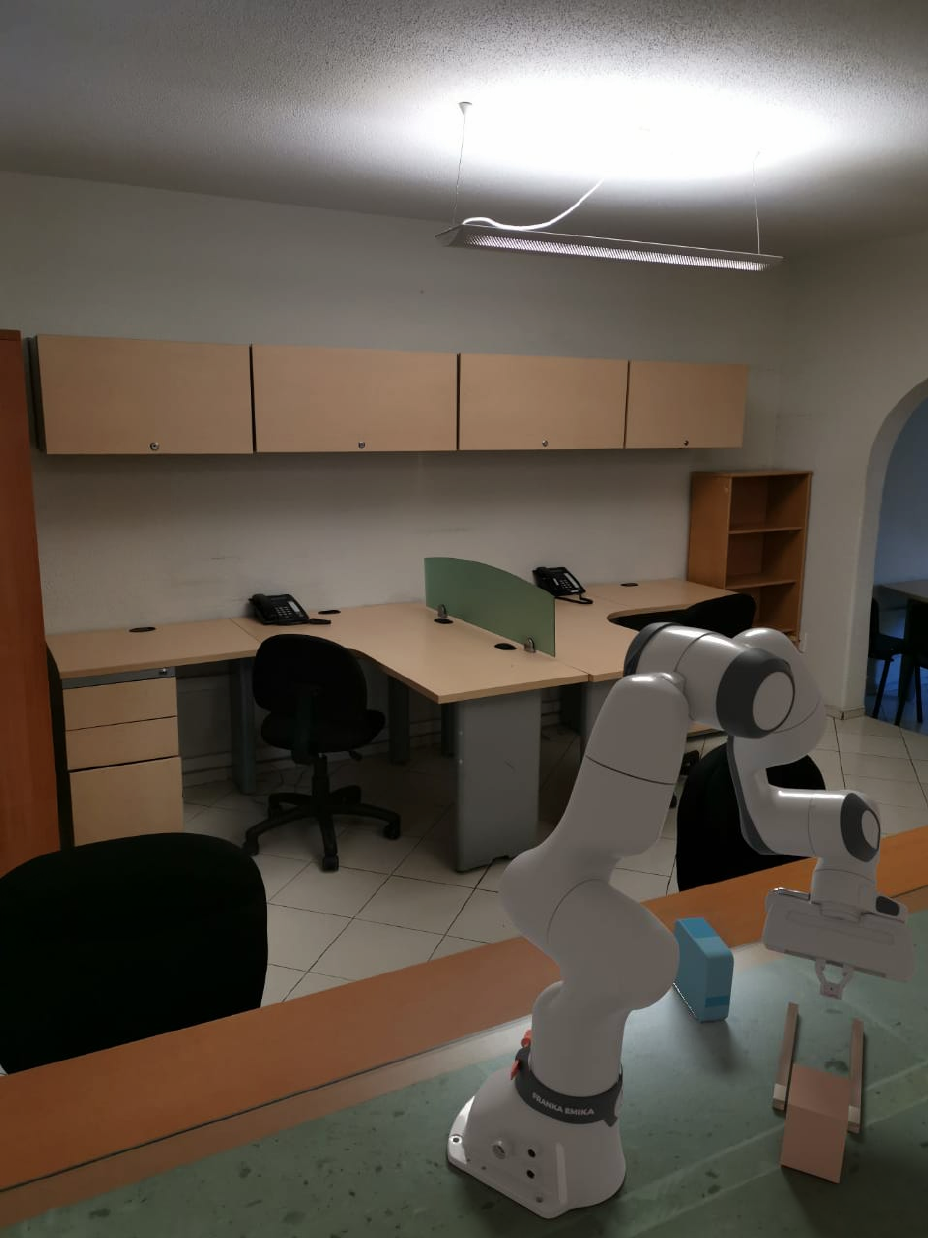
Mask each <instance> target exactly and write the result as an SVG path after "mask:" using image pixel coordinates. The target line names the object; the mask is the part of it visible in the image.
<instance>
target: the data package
mask: <svg viewBox="0 0 928 1238" xmlns="http://www.w3.org/2000/svg"><path fill="white" fill-rule="evenodd" d="M673 928H674V929H673V935H674V936H675V938H676V940H677V942H678V946H679V955H680V960H679V968H678V972H677V976H676V978H675V981H674V983H675V985H676V986H677V988H678V989H679V991H680V993H681V994H682V996H683V997H684V999H685V1001H686V1002H687V1003H688V1005H689V1006H690V1007H691V1009H692V1011H693V1012H694V1014H695V1016H696V1017H697V1019H698V1020H697V1019H696V1020H697V1021H698V1022H699V1023H704V1022H712V1021H721V1020H726V1019H728V1017H729V1014H730V1013H729V1012H730V1004H731V996H732V995H731V992H732V985H733V975H734V965H735V959H734V955H733V952H732V951H731V949H730V948H729V947H728V946H727V944H726V942H724V940H723V939H722V938H721V937H720V936H719V935H718V933H717V932H716V931H715V930H714V929H713V928H712V926H711V925H710V924H709V923H708V922H707V920H706V919H705V918H703V917H701V916H700V917H688V918H679V919H675V922H674V927H673ZM685 1001H684V1002H685ZM692 1011H691V1012H692ZM694 1014H693V1015H694ZM695 1016H694V1017H695ZM696 1017H695V1018H696Z"/></svg>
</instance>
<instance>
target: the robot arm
mask: <svg viewBox="0 0 928 1238" xmlns="http://www.w3.org/2000/svg"><path fill="white" fill-rule="evenodd" d="M622 671H623V672H622V678H621V679H619V680H618V681H616V682H615V683H614V685H613V686H612V687H611V690H610V691H609V693H608V694H607V697H606V698H605V701H604V702H603V705H602V706H601V708H600V711H599V712H598V715H597V718H596V721H595V723H594V725H593V727H592V730H591V733H590V735H589V738H588V741H587V744H586V746H585V750H584V755H583V758H582V761H581V763H580V767H579V770H578V774H577V776H576V779H575V782H574V786H573V789H572V792H571V795H570V798H569V801H568V803H567V806H566V809H565V810H564V811H565V812H564V813H563V815H562V817H561V819H560V821H559V822H558V824H557V825H556V827H555V828H554V830H553V831H552V832H551V834H550V835H549V836H548V837H547V838H546V839H545V840H544V841H543V842H542V843H540V844H539V845H538V846H536V847H534V848H530V849H528V850H526V851H523V852H521V853H520V854H518V855H517V856H516V857H514V858H513V859H512V861H511V862H509V863H508V865H507V867H506V868H505V870H503V871H504V872H503V874H502V876H501V878H500V881H499V885H498V892H497V893H498V895H497V896H498V902H499V906H500V908H501V910H502V911H503V913H504V914H505V916H506V917H507V918H508V920H509V921H510V922H511V923H512V925H513V926H514V927H515V928H516V930H517V932H519V934H520V935H521V936H522V937H524V938H525V939H526V940H528V941H529V942H530V943H532V944H533V945H534V946H535V947H536V948H538V949H539V950H540V951H542V952H543V953H544V954H546V955H547V956H548V957H549V958H551V959H552V960H553V962H555V963H556V965H557V966H558V968H559V970H560V974H561V977H562V980H560V981H557V982H554V983H551V984H550V985H548V986H547V987H546V988H545V989H544V990H543V991H542V992H541V993H540V994H539V995H538V997H537V998H536V1000H535V1001H534V1002H533V1006H532V1011H531V1027H530V1029H528V1030H527V1031H526V1032H525V1033H524V1035H523V1038H522V1039H521V1041H520V1045H521V1048H520V1049H519V1050H518V1051H517V1053H516V1054H515V1058H514V1064H513V1065H509V1066H506V1067H501V1068H499V1069H497V1070H495V1071H493V1072H492V1074H490V1075H489V1076H488V1077H487V1078H486V1079H485V1081H484V1082H483V1083H482V1085H481V1086H480V1087H479V1089H478V1091H476V1093H475V1094H474V1095H473V1096H472V1097H470V1098H469V1100H468V1101H466V1103H465V1104H464V1105H463V1107H462V1108H461V1109H460V1111H459V1112H458V1114H457V1116H456V1118H455V1119H454V1121H453V1123H452V1125H451V1128H450V1132H449V1135H448V1139H447V1145H446V1146H447V1147H446V1148H447V1149H446V1152H447V1153H446V1154H447V1158H448V1161H449V1162H450V1163H451V1164H452V1165H454V1166H456V1167H457V1168H459V1169H460V1170H462V1171H463V1172H465V1173H467V1174H469V1175H471V1177H473V1178H475V1179H477V1180H479V1181H481V1182H482V1183H484V1184H486V1185H487V1186H488V1187H491V1188H493V1190H496V1191H497V1192H500V1193H501V1194H502V1195H504V1196H506V1197H507V1198H510V1199H511V1200H513V1201H514V1202H516V1203H518V1204H520V1205H521V1206H523V1207H524V1208H527V1209H528V1210H530V1211H531V1212H533V1213H535V1214H537V1215H538V1216H540V1217H542V1218H545V1219H553V1218H557V1217H558V1216H560V1215H562V1214H564V1213H566V1212H568V1211H569V1210H573V1209H577V1208H586V1207H590V1206H594V1205H597V1204H600V1203H603V1202H604V1201H606V1200H608V1199H609V1198H611V1197H612V1196H613V1195H614V1194H615V1193H617V1191H618V1190H619V1189H620V1187H621V1186H622V1184H623V1183H624V1180H625V1176H626V1172H627V1171H626V1170H627V1169H626V1168H627V1165H626V1164H627V1163H626V1159H625V1155H624V1152H623V1147H622V1141H621V1134H620V1122H619V1116H620V1114H621V1112H622V1105H623V1096H624V1095H623V1094H624V1083H623V1080H624V1078H623V1077H624V1068H623V1064H622V1062H621V1060H622V1050H623V1049H622V1048H623V1041H624V1034H625V1027H626V1022H627V1019H628V1017H629V1016H630V1014H631V1013H632V1012H633V1011H639V1010H642V1009H646V1008H648V1007H651V1006H652V1005H655V1004H656V1003H657V1002H660V1000H662V999H663V998H664V996H666V995H667V993H668V992H669V990H670V989H671V988H672V986H673V983H674V981H675V978H676V976H677V972H678V968H679V960H680V955H679V946H678V942H677V940H676V938H675V936H674V933H673V932H671V931H670V929H669V928H667V926H666V925H665V924H664V923H663V922H662V921H661V920H660V919H659V918H658V917H657V916H656V915H655V914H654V913H653V912H652V911H650V909H649V908H647V907H646V906H644V905H643V904H641V903H639V902H638V901H636V900H635V899H633V898H632V897H630V896H629V895H627V894H625V893H624V892H622V891H621V890H619V889H618V888H616V887H614V886H613V885H612V884H611V878H612V874H613V873H614V870H615V868H616V866H617V865H618V863H620V860H621V859H622V858H628V857H634V856H639V855H641V854H644V853H647V852H648V851H649V850H651V849H652V848H653V847H655V846H656V845H657V843H658V842H659V840H660V838H661V835H662V832H663V828H664V825H665V821H666V819H667V816H668V811H669V808H670V805H671V801H672V798H673V796H674V795H673V794H674V792H675V788H676V785H677V781H678V779H679V775H680V771H681V769H682V768H681V767H682V763H683V757H684V754H685V749H686V742H687V737H688V735H687V734H688V733H689V731H690V730H691V729H692V727H693V726H695V724H697V725H700V726H704V727H706V728H709V729H713V730H717V731H722V732H725V733H726V734H727V737H726V756H727V762H728V767H729V772H730V776H731V779H732V784H733V788H734V792H735V796H736V800H737V804H738V805H737V806H738V809H739V810H738V812H739V821H740V822H739V823H740V824H739V825H740V830H741V831H740V832H741V835H742V836H743V838H744V841H746V843H747V844H748V845H749V846H750V847H751V848H752V849H753V850H754V851H755V852H757V854H759V855H762V856H766V855H768V856H769V855H771V856H772V855H773V856H776V855H777V856H780V855H781V856H782V855H788V856H789V855H790V856H799V857H809V858H810V857H811V858H817V862H816V864H815V867H814V869H813V872H812V879H811V884H810V885H811V886H810V892H805V891H801V890H793V889H788V887H787V888H786V887H780V886H779V887H778V888H773V889H771V890H770V891H768V892H767V894H766V896H765V900H764V909H765V912H766V913H767V915H766V918H765V920H764V921H765V922H764V925H763V930H762V934H761V942H762V944H763V946H764V948H765V949H767V950H768V951H773V952H776V953H781V954H785V955H789V956H792V957H797V958H801V959H803V960H808V961H813V962H814V966H813V968H814V969H813V970H814V971H815V974H816V975H817V978H818V980H819V983H820V986H819V996H824V997H826V998H827V997H828V998H831V999H835V1000H839V1001H842V998H843V991H844V990H843V989H844V988H846V986H847V985H848V984H849V983H850V982H851V980H852V979H853V978H854V977H853V976H854V972H858V973H862V974H865V975H870V976H873V977H878V978H882V979H886V980H890V981H894V982H898V983H901V984H902V983H903V984H906V983H908V982H910V981H911V980H912V979H913V977H914V976H915V964H916V963H915V961H916V960H915V959H916V958H915V956H916V955H915V945H914V936H913V933H912V931H911V929H910V928H909V926H908V925H907V924H908V920H909V909H908V907H907V906H906V905H905V904H903V903H901V902H899V901H897V900H895V899H894V898H891V897H889V896H887V895H886V894H883V893H882V892H879V891H878V890H877V887H878V884H877V883H878V882H877V879H876V869H877V867H878V864H879V862H880V858H881V850H882V849H881V847H882V845H881V844H882V827H881V825H882V823H881V822H882V820H881V812H880V807H879V804H878V802H876V800H875V799H874V798H872V797H871V796H869V795H868V794H866V793H864V792H861V791H858V790H855V789H854V790H853V789H838V790H826V789H815V790H814V789H802V788H801V789H800V788H797V789H796V788H784V787H779V786H776V785H772V784H771V783H769V781H768V780H769V779H768V776H767V770H766V769H767V768H772V767H775V766H776V767H777V766H782V765H788V764H791V763H794V762H797V761H799V760H801V759H802V758H804V757H806V756H807V755H808V754H809V753H811V752H812V751H813V750H814V749H815V748H816V747H817V746H818V745H819V744H820V742H821V740H822V739H823V737H824V735H825V732H826V730H827V725H828V718H827V717H828V716H827V710H826V705H825V702H824V699H823V696H822V694H821V691H820V688H819V687H818V684H817V682H816V679H815V677H814V675H813V672H812V671H811V669H810V667H809V665H808V664H807V662H806V661H805V659H804V657H803V655H802V654H801V653H800V651H799V650H798V648H797V647H796V645H794V643H793V642H792V640H790V638H789V637H788V636H787V635H785V633H783V632H781V631H779V630H776V629H773V628H769V627H754V628H749V629H746V630H744V631H742V632H740V633H739V634H738V633H737V635H735V636H734V637H732V638H730V637H727V636H725V635H724V634H721V633H719V632H716V631H711V630H708V629H703V628H697V627H692V626H691V627H690V626H685V625H684V624H681V623H680V622H679V623H678V622H671V621H668V622H667V621H666V622H664V621H663V622H653V623H649V624H648V625H646V626H643V628H642V629H641V630H640V631H639V632H638V633H637V634H636V635H635V637H633V639H632V640H631V642H630V644H629V646H628V648H627V651H626V653H625V657H624V661H623V669H622ZM826 965H829V966H834V967H837V968H840V969H841V968H842V971H841V972H842V973H841V976H843V978H842V979H841V980H840V981H839V982H838V983H836V982H832V981H828V980H827V979H826V977H825V975H824V971H825V970H826Z"/></svg>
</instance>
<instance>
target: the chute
mask: <svg viewBox="0 0 928 1238" xmlns="http://www.w3.org/2000/svg"><path fill="white" fill-rule="evenodd" d="M799 1005H800V1004H798V1003H795V1002H791V1001H789V1002H788V1006H787V1012H786V1018H785V1025H784V1031H783V1037H782V1041H781V1042H782V1043H781V1047H780V1054H779V1060H778V1066H777V1072H776V1076H775V1077H776V1078H775V1079H776V1080H775V1084H774V1092H773V1097H772V1102H771V1103H772V1104H771V1107H772V1108H775V1109H778V1110H781V1111H784V1109H785V1102H786V1097H787V1096H786V1095H787V1089H788V1081H789V1075H790V1068H791V1063H792V1054H793V1050H794V1049H793V1048H794V1042H795V1041H794V1040H795V1034H796V1027H797V1026H796V1025H797V1021H798V1013H799ZM864 1022H865V1021H862V1020H859V1019H856V1018H853V1020H852V1024H851V1039H850V1040H851V1041H850V1058H849V1074H848V1075H849V1076H848V1077H849V1078H848V1079H850V1096H849V1114H848V1126H847V1132H848V1131H849V1132H852V1133H855V1134H859V1132H860V1125H861V1106H862V1105H861V1104H862V1081H863V1079H862V1078H863V1077H862V1075H863V1055H864V1054H863V1052H864V1051H863V1049H864V1048H863V1047H864V1024H865V1023H864Z"/></svg>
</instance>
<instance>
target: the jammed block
mask: <svg viewBox="0 0 928 1238" xmlns="http://www.w3.org/2000/svg"><path fill="white" fill-rule="evenodd" d="M849 1096H850V1079H849V1078H847V1077H843V1076H839V1075H836V1074H833V1073H830V1072H826V1071H823V1070H818V1069H815V1068H814V1067H813V1068H812V1067H809V1066H805V1065H801V1064H800V1063H799V1064H798V1063H796V1062H793V1063H792V1071H791V1078H790V1084H789V1091H788V1096H787V1097H788V1099H787V1105H786V1106H787V1107H786V1115H785V1123H784V1130H783V1138H782V1145H781V1152H780V1153H781V1154H780V1159H779V1160H780V1161H779V1164H780V1165H783V1166H785V1167H788V1168H791V1169H794V1170H797V1171H800V1172H803V1173H805V1174H810V1175H813V1176H815V1177H819V1178H820V1179H821V1178H822V1179H824V1180H826V1181H827V1180H828V1181H830V1182H834V1183H837V1184H840V1179H841V1173H842V1167H843V1166H842V1165H843V1160H844V1159H843V1158H844V1152H845V1147H846V1146H845V1145H846V1138H847V1132H848V1130H847V1126H848V1114H849Z"/></svg>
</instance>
